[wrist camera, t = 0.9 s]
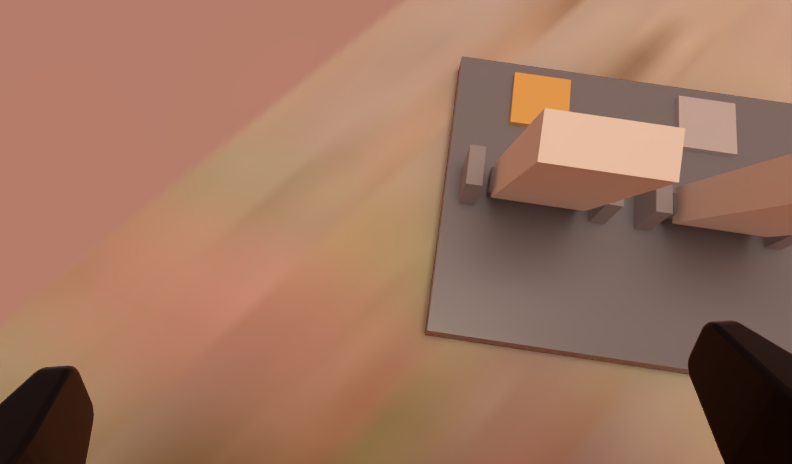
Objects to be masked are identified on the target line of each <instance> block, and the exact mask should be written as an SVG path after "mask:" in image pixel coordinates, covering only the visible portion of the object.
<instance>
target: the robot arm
mask: <svg viewBox="0 0 792 464" xmlns="http://www.w3.org/2000/svg"><path fill="white" fill-rule="evenodd" d="M688 371H689V375H690V378H691V380H692V383H693V385H694V388H695V390H696V393H697V395H698V398H699V400H700V403H701V406H702V408H703V411H704V413H705V416H706V418H707V421H708V423H709V426H710V428H711V431H712V433H713V436H714V438H715V441H716V443H717V446H718V449H719V451H720V453H721V456H722V458H723V460H724V463H725V464H792V354H791V353H790V352H788V351H786V350H785V349H783V348H781V347H780V346H778V345H776V344H775V343H773V342H771V341H770V340H768V339H766V338H764V337H763V336H761V335H759V334H758V333H756V332H754V331H753V330H751V329H749V328H748V327H746V326H744V325H743V324H741V323H739V322H737V321H732V320H726V321H711V322H708V323H707V324H705V325H704V326H703V328H702V330H701V332H700V334H699V336H698V338H697V340H696V343H695V345H694V347H693V349H692V351H691V354H690V356H689V358H688ZM93 416H94V413H93V405H92V402H91V400H90V397H89V395H88V393H87V390H86V388H85V385H84V383H83V381H82V378H81V376H80V374H79V372H78V370H77V369H76V368H75V367H73V366H57V367H45V368H42V369H40V370H38V371H36V372H35V373H34V374H33V375H32V376H31V377H29V378H28V379H27V380H26V381H25V382H24V383H23V384H22V385H21V386H19V387H18V388H17V389H16V390H15V391H14V392H13V393H12V394H11V395H9V396H8V397H7V398H6V399H5V400H4V401H3V402H2V403H1V404H0V464H86V458H87V453H88V447H89V442H90V436H91V431H92V425H93Z"/></svg>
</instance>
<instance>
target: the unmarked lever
mask: <svg viewBox="0 0 792 464" xmlns="http://www.w3.org/2000/svg"><path fill="white" fill-rule="evenodd" d="M668 218H669V219H673V220H672V223H674V224H680V225H687V226H694V227H701V228H708V229H714V230H721V231H728V232H735V233H742V234H749V235H755V236H762V237H775V236H787V235H792V154H789V155H785V156H782V157H778V158H775V159H771V160H768V161H765V162H761V163H758V164H754V165H751V166H747V167H744V168H740V169H737V170H734V171H730V172H727V173H723V174H720V175H716V176H713V177H709V178H706V179H703V180H699V181H696V182H692V183H689V184H685V185H682V186H678V187H676V193H673V214H672V215H670V216H669V217H668Z"/></svg>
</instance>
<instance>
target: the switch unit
mask: <svg viewBox="0 0 792 464" xmlns="http://www.w3.org/2000/svg"><path fill="white" fill-rule="evenodd" d="M544 108H548V109H555V110H562V111H569V112H576V113H583V114H590V115H597V116H603V117H610V118H617V119H624V120H631V121H638V122H645V123H652V124H659V125H666V126H673V127H679V128H685V136H684V145H683V153H682V161H681V169H680V178H679V183H676V184H672V185H669V186H666V187H663V188H659V189H656V190H653V191H649V192H646V193H643V194H640V195H636V196H633V197H630V198H626V199H623V200H620V201H617V202H613V203H610V204H607V205H603V206H600V207H597V208H593V209H590V210H587V211H580V210H573V209H566V208H559V207H553V206H546V205H539V204H532V203H525V202H518V201H512V200H505V199H498V198H491V193H488V192H487V186H488V178H489V173H490V170H491V167H495V164H496V161H497V160H498V158H499V157H500V156H501V155H502V154H503V153H504V152H505V151H506V150H507V149H508V148H509V146H510V145H511V144H512V143H513V142H514V141H515V140H516V139H517V138H518V137H519V136H520V134H521V133H522V132H523V131H524V130H525V129H526V128H527V127H528V126H529V125H530V124H531V122H532V121H533V120H534V119H535V118H536V117H537V116H538V115H539V114H540V113H541V112H542V110H543V109H544ZM789 154H792V104H789V103H782V102H775V101H768V100H762V99H755V98H748V97H741V96H734V95H727V94H720V93H713V92H706V91H699V90H692V89H685V88H678V87H671V86H664V85H657V84H650V83H643V82H636V81H629V80H622V79H615V78H609V77H602V76H595V75H588V74H581V73H574V72H567V71H560V70H553V69H546V68H539V67H532V66H525V65H518V64H511V63H504V62H497V61H490V60H483V59H476V58H469V57H462V59H461V63H460V67H459V73H458V81H457V89H456V96H455V104H454V112H453V120H452V127H451V135H450V143H449V151H448V159H447V166H446V174H445V182H444V190H443V198H442V205H441V213H440V221H439V229H438V237H437V244H436V252H435V260H434V268H433V275H432V283H431V291H430V299H429V307H428V314H427V322H426V330H425V335H432V336H438V337H445V338H452V339H458V340H465V341H472V342H478V343H485V344H492V345H498V346H505V347H512V348H518V349H525V350H532V351H538V352H545V353H552V354H558V355H565V356H572V357H578V358H585V359H592V360H598V361H605V362H612V363H618V364H625V365H632V366H638V367H645V368H652V369H658V370H665V371H672V372H678V373H685V374H689V371H688V358H689V356H690V354H691V351H692V349H693V347H694V345H695V343H696V340H697V338H698V336H699V334H700V332H701V330H702V328H703V326H704V325H705V324H707V323H708V322H711V321H726V320H732V321H737V322H739V323H741V324H743V325H744V326H746V327H748V328H749V329H751V330H753V331H754V332H756V333H758V334H759V335H761V336H763V337H764V338H766V339H768V340H770V341H771V342H773V343H775V344H776V345H778V346H780V347H781V348H783V349H785V350H786V351H788V352H790V353H791V354H792V235H787V236H775V237H762V236H755V235H749V234H742V233H735V232H728V231H721V230H714V229H708V228H701V227H694V226H687V225H680V224H674V223H672V220H673V219H669V218H668V217H669V216H670V215H672V214H673V193H676V187H678V186H682V185H685V184H689V183H692V182H696V181H699V180H703V179H706V178H709V177H713V176H716V175H720V174H723V173H727V172H730V171H734V170H737V169H740V168H744V167H747V166H751V165H754V164H758V163H761V162H765V161H768V160H771V159H775V158H778V157H782V156H785V155H789Z"/></svg>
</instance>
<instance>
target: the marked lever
mask: <svg viewBox="0 0 792 464" xmlns="http://www.w3.org/2000/svg"><path fill="white" fill-rule="evenodd" d="M684 136H685V128H679V127H673V126H666V125H659V124H652V123H645V122H638V121H631V120H624V119H617V118H610V117H603V116H597V115H590V114H583V113H576V112H569V111H562V110H555V109H548V108H544V109H543V110H542V112H541V113H540V114H539V115H538V116H537V117H536V118H535V119H534V120H533V121H532V122H531V124H530V125H529V126H528V127H527V128H526V129H525V130H524V131H523V132H522V133H521V134H520V136H519V137H518V138H517V139H516V140H515V141H514V142H513V143H512V144H511V145H510V146H509V148H508V149H507V150H506V151H505V152H504V153H503V154H502V155H501V156H500V157H499V158H498V160H497V161H496V164H495V167H491V170H490V173H489V178H488V186H487V192H488V193H491V198H498V199H505V200H512V201H518V202H525V203H532V204H539V205H546V206H553V207H559V208H566V209H573V210H580V211H587V210H590V209H593V208H597V207H600V206H603V205H607V204H610V203H613V202H617V201H620V200H623V199H626V198H630V197H633V196H636V195H640V194H643V193H646V192H649V191H653V190H656V189H659V188H663V187H666V186H669V185H672V184H676V183H679V178H680V169H681V161H682V153H683V145H684Z"/></svg>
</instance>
